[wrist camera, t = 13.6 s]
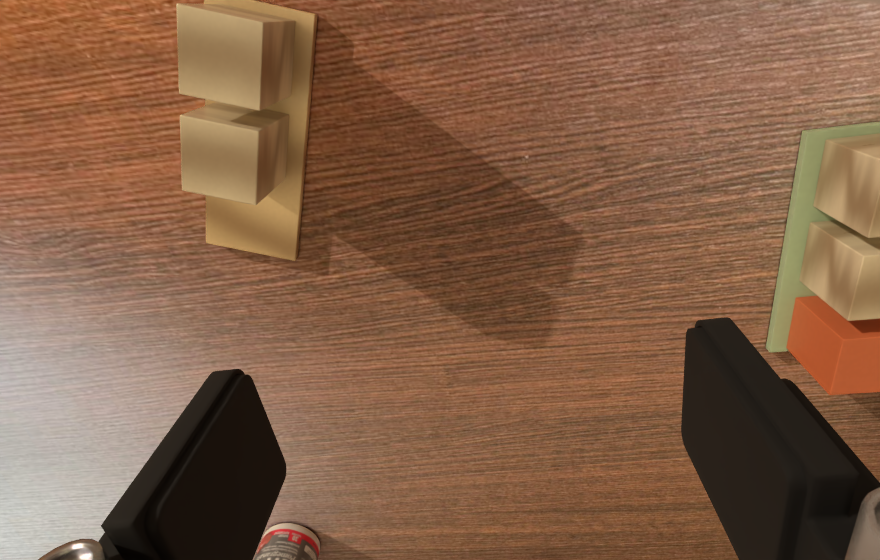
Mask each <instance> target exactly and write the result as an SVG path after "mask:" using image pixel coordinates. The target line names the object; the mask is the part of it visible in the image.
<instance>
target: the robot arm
mask: <svg viewBox="0 0 880 560" xmlns="http://www.w3.org/2000/svg"><path fill="white" fill-rule="evenodd" d="M681 432H682V439H683V443H684V446H685V448H686V450H687V452H688V455H689V457H690V459H691V461H692V463H693V465H694V467H695V469H696V471H697V473H698V475H699V477H700V479H701V481H702V484H703V486H704V488H705V490H706V492H707V494H708V496H709V498H710V500H711V502H712V504H713V506H714V508H715V511H716V513H717V515H718V517H719V519H720V521H721V523H722V525H723V527H724V529H725V531H726V533H727V535H728V537H729V540H730V542H731V544H732V546H733V548H734V550H735V552H736V554H737V556H738V558H739V560H880V483H879V481H878V480H877V479H876V478H875V477H874V476H873V474H872V473H871V472H870V471H869V470H868V469H867V467H866V466H865V465H864V464H863V463H862V462H861V460H860V459H859V458H858V457H857V456H856V455H855V453H854V452H853V451H852V450H851V449H850V448H849V446H848V445H847V444H846V443H845V442H844V441H843V439H842V438H841V437H840V436H839V435H838V434H837V432H836V431H835V430H834V429H833V428H832V427H831V425H830V424H829V423H828V422H827V421H826V420H825V418H824V417H823V416H822V415H821V414H820V413H819V411H818V410H817V409H816V408H815V407H814V406H813V404H812V403H811V402H810V401H809V400H808V399H807V397H806V396H805V395H804V394H803V393H802V392H801V390H800V389H799V388H798V387H797V386H796V385H795V384H794V383H793V382H792V381H790V380H788V379H780V377H779V376H778V375H777V374H776V373H775V371H774V370H773V369H772V368H771V367H770V365H769V364H768V363H767V362H766V361H765V359H764V358H763V357H762V356H761V355H760V353H759V352H758V351H757V350H756V349H755V347H754V346H753V345H752V344H751V343H750V341H749V340H748V339H747V338H746V337H745V335H744V334H743V333H742V332H741V331H740V329H739V328H738V327H737V326H736V325H735V323H734V322H733V321H732V320H731V319H730V318H727V317H725V318H716V319H706V320H698V321H697V322H696V324H695V328H690V329H688V330H687V332H686V346H685V366H684V386H683V406H682V425H681ZM285 476H286V463H285V460H284V457H283V455H282V452H281V450H280V447H279V445H278V442H277V440H276V437H275V435H274V432H273V430H272V427H271V425H270V422H269V420H268V417H267V415H266V412H265V410H264V407H263V405H262V402H261V400H260V397H259V395H258V392H257V390H256V387H255V384H254V382H253V380H252V378H251V376H249V375H245V374H244V372H243V371H242V370H240V369H233V370H223V371H215V372H212V373H211V374H210V375H209V377H208V378H207V379H206V381H205V382H204V384H203V385H202V386H201V388H200V389H199V391H198V392H197V393H196V395H195V396H194V397H193V399H192V400H191V402H190V403H189V404H188V406H187V407H186V409H185V410H184V411H183V413H182V414H181V415H180V417H179V418H178V420H177V421H176V422H175V424H174V425H173V427H172V428H171V429H170V431H169V432H168V433H167V435H166V436H165V438H164V439H163V440H162V442H161V443H160V445H159V446H158V447H157V449H156V450H155V451H154V453H153V454H152V456H151V457H150V458H149V460H148V461H147V463H146V464H145V465H144V467H143V468H142V470H141V471H140V472H139V474H138V475H137V476H136V478H135V479H134V481H133V482H132V483H131V485H130V486H129V488H128V489H127V490H126V492H125V493H124V494H123V496H122V497H121V499H120V500H119V501H118V503H117V504H116V506H115V507H114V508H113V510H112V511H111V512H110V514H109V515H108V517H107V518H106V519H105V521H104V522H103V524H102V525H101V527H102V528H103V530H104V531H105V533H104V534H103V536H102V537H101V539H100V540H99V542H97V541H95V540H93V539H79V540H75V541H71V542H68V543H66V544H64V545H61V546H59V547H57V548H55V549H53V550H52V551H50V552H49V553H47V554H45V555H44V556H42V557H41V558H40V559H38V560H252V559H253V557H254V554H255V552H256V550H257V547H258V545H259V542H260V540H261V537H262V535H263V532H264V530H265V527H266V525H267V522H268V520H269V517H270V515H271V512H272V510H273V507H274V505H275V502H276V500H277V497H278V495H279V492H280V490H281V487H282V485H283V482H284V480H285Z"/></svg>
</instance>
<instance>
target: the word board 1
mask: <svg viewBox="0 0 880 560" xmlns="http://www.w3.org/2000/svg"><path fill="white" fill-rule="evenodd" d="M317 18H318V15H317V14H315V13H310V12H306V11H301V10H297V9H292V8H288V7H283V6H279V5H274V4H269V3H265V2H260V1H256V0H204V4H182V3H178V4H177V38H178V73H179V93H180V94H183V95H188V96H192V97H197V98H202V99H205V106H204V107H201V108H198V109H196V110H193V111H190V112H187V113H185V114H182V115H180V136H181V171H182V190H183V191H188V192H193V193H198V194H202V195H206V243H209V244H214V245H219V246H223V247H228V248H233V249H238V250H243V251H248V252H253V253H258V254H263V255H268V256H273V257H278V258H283V259H288V260H293V261H296V259H297V258H298V250H299V237H300V225H301V213H302V201H303V189H304V176H305V164H306V152H307V140H308V128H309V116H310V103H311V91H312V79H313V67H314V55H315V43H316V30H317Z"/></svg>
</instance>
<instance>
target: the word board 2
mask: <svg viewBox="0 0 880 560" xmlns="http://www.w3.org/2000/svg"><path fill="white" fill-rule="evenodd" d="M807 296H818V297H820V298H821V299H822V300H823V301H824V302H826V303H827V304H828V305H829V306H830V307H832V308H833V309H834V310H835V311H836V312H838V313H839V314H840V315H841V316H842V317H844V318H845V319H846V320H847V321H855V320H867V319H880V121H879V122H871V123H862V124H854V125H845V126H837V127H828V128H820V129H811V130H803V131H802V135H801V141H800V147H799V153H798V159H797V165H796V171H795V177H794V183H793V189H792V195H791V201H790V206H789V212H788V218H787V224H786V230H785V236H784V242H783V248H782V254H781V260H780V266H779V272H778V278H777V284H776V290H775V296H774V302H773V308H772V314H771V320H770V326H769V332H768V337H767V343H766V349H767V350H768V351H769V352H783V351H789V350H788V349H787V348H786V347H787V341H788V336H789V331H790V325H791V320H792V315H793V310H794V304H795V299H796V297H807Z"/></svg>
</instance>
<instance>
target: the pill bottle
mask: <svg viewBox="0 0 880 560" xmlns="http://www.w3.org/2000/svg"><path fill="white" fill-rule="evenodd" d="M319 552H320V542H319V540H318V538H317V536H316V535H315V534H314V533H313V532H312V531H310V530H309V529H307V528H305V527H303V526H300V525H297V524H292V523H281V524H277V525H275V526H272V527H271V528H269V529H268V530H267V531H266V533H265V534H264V536H263V539H262V541H261V543H260V546H259V548H258V550H257V553H256V556H255V558H254V560H317V559H318V555H319Z"/></svg>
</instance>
